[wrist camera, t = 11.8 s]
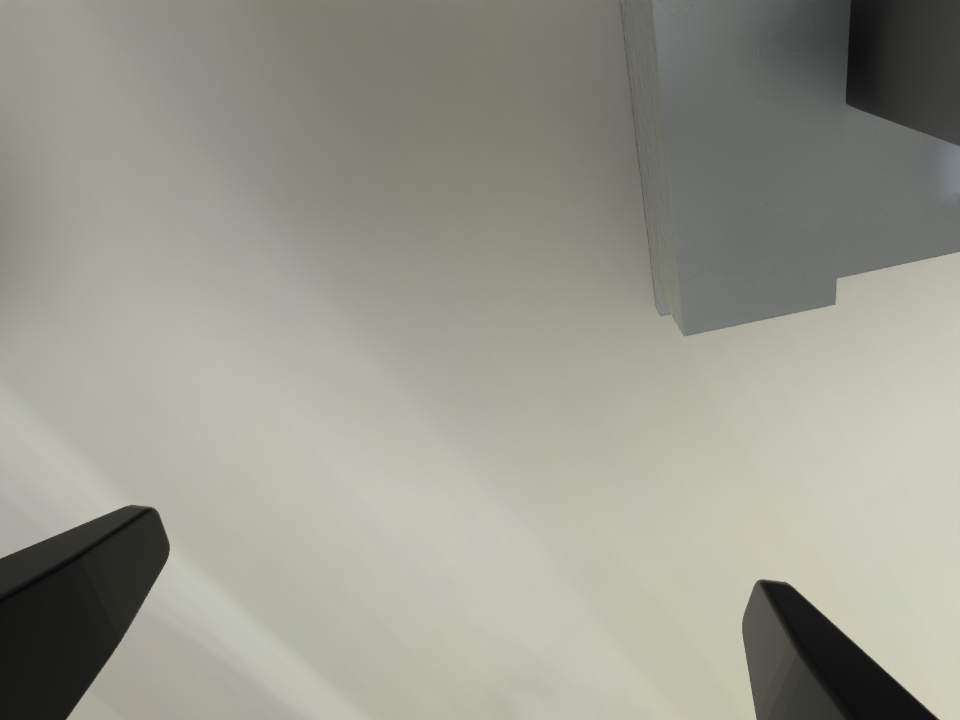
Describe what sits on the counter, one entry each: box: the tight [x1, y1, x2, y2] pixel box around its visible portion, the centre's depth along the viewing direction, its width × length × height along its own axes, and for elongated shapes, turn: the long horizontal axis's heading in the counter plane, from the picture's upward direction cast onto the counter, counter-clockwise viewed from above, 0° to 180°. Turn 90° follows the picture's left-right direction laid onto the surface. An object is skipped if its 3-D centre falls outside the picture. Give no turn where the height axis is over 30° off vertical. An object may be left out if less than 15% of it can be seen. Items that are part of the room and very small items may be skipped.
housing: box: [620, 0, 960, 336], centre depth 15 cm, size 14×14×4 cm
